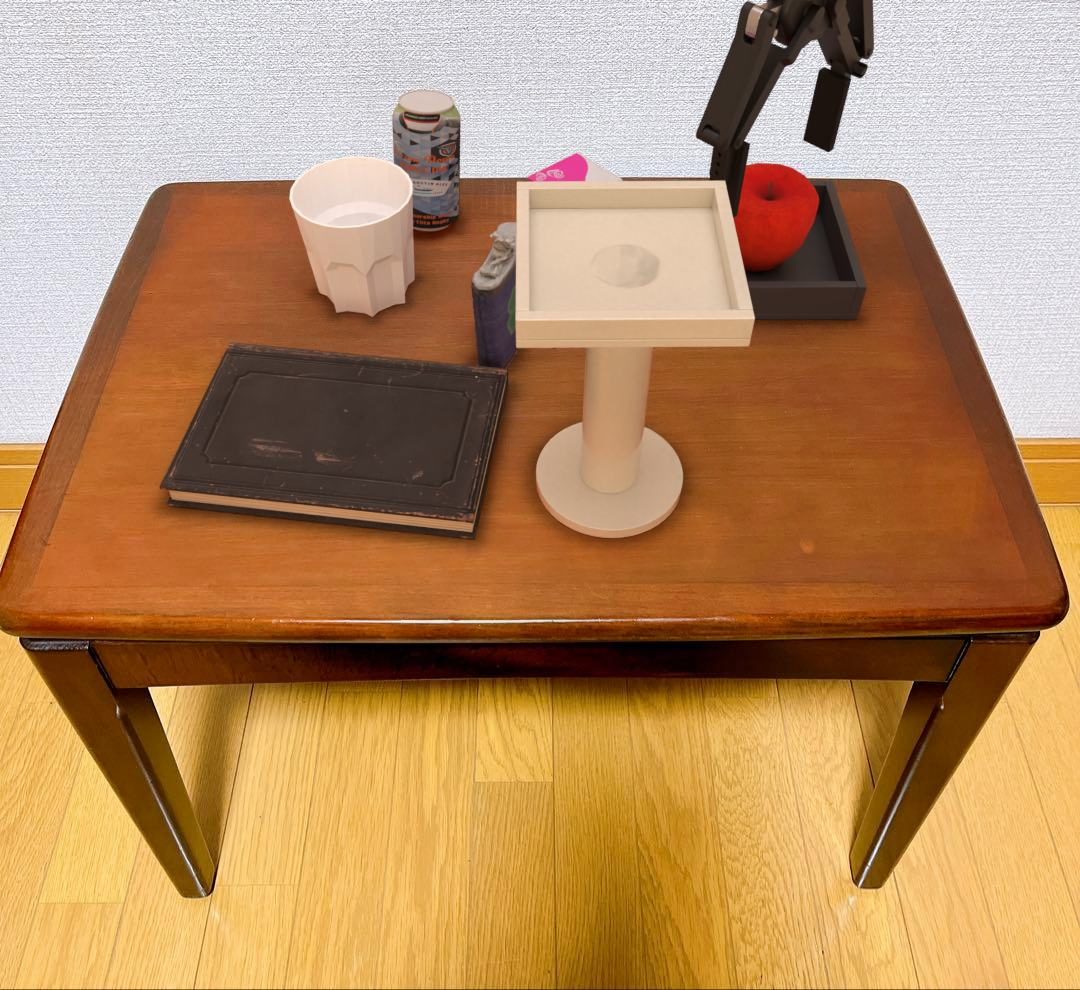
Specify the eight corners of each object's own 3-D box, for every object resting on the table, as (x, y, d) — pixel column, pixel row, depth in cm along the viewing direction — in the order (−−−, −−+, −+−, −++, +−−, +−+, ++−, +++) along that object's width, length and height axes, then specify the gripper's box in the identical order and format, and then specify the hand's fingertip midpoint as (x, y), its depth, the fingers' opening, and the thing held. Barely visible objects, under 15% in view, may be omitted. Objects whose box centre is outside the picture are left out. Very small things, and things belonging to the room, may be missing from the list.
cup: (406, 329, 87) (394, 233, 79) (295, 316, 88) (272, 220, 81) (435, 258, 93) (425, 163, 86) (330, 246, 94) (312, 151, 87)
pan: (824, 212, 98) (833, 180, 95) (856, 319, 88) (867, 286, 85) (663, 212, 98) (666, 180, 95) (677, 319, 88) (681, 287, 85)
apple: (811, 290, 90) (831, 215, 83) (712, 289, 90) (724, 214, 84) (797, 229, 95) (815, 154, 89) (703, 227, 95) (715, 153, 89)
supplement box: (575, 260, 93) (579, 148, 84) (619, 292, 90) (627, 180, 81) (526, 286, 91) (525, 174, 82) (569, 320, 88) (573, 207, 79)
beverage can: (388, 236, 95) (372, 119, 86) (413, 192, 100) (400, 76, 91) (452, 246, 95) (442, 128, 85) (474, 201, 99) (467, 84, 90)
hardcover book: (474, 540, 73) (473, 520, 71) (167, 506, 75) (158, 486, 73) (509, 384, 83) (508, 364, 81) (237, 358, 85) (231, 337, 83)
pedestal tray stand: (687, 416, 81) (725, 180, 64) (706, 550, 72) (755, 318, 56) (521, 417, 80) (516, 181, 64) (521, 551, 72) (515, 319, 56)
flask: (502, 303, 89) (499, 198, 81) (534, 308, 89) (534, 204, 81) (472, 373, 84) (465, 269, 75) (506, 380, 83) (503, 276, 75)
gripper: (881, -156, 77) (820, 104, 93) (667, -55, 66) (641, 220, 82) (969, -129, 73) (890, 136, 90) (760, -17, 62) (713, 261, 79)
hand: (771, 176), depth 86 cm, fingers open, 13 cm apart
